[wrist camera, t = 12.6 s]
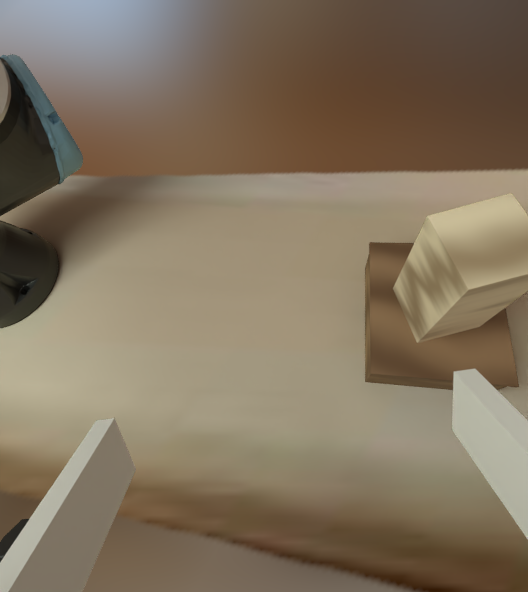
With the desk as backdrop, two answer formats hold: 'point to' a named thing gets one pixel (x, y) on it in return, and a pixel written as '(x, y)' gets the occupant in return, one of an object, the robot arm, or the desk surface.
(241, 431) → the desk surface
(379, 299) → the walnut box
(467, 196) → the desk surface
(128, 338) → the desk surface
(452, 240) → the oak block
